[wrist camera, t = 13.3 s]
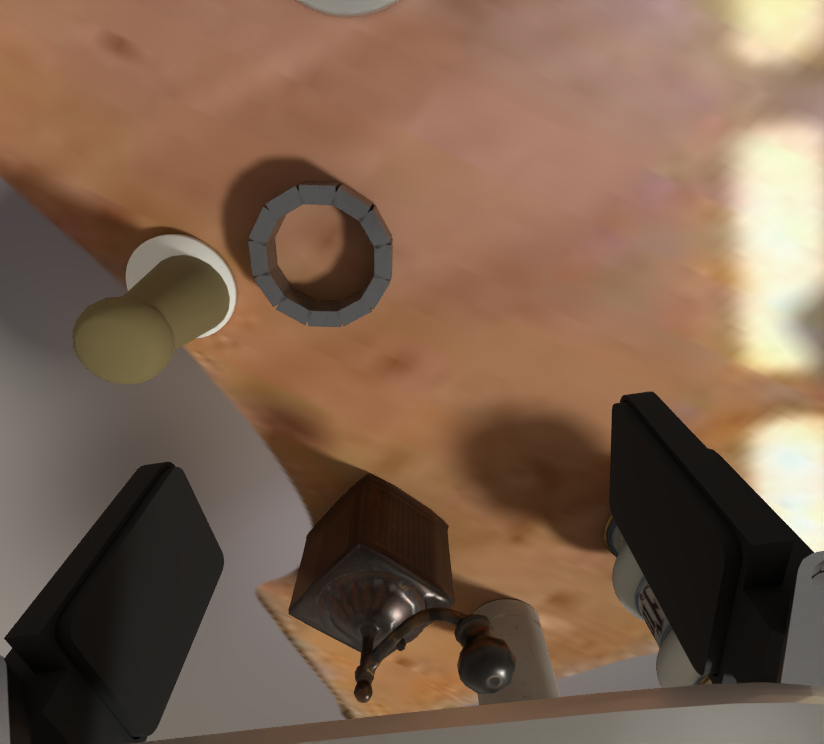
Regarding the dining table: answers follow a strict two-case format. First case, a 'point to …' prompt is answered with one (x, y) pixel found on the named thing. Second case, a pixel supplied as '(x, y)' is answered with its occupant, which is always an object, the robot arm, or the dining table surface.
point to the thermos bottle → (521, 652)
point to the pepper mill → (390, 585)
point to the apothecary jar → (649, 613)
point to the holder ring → (277, 283)
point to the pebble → (173, 246)
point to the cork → (151, 320)
